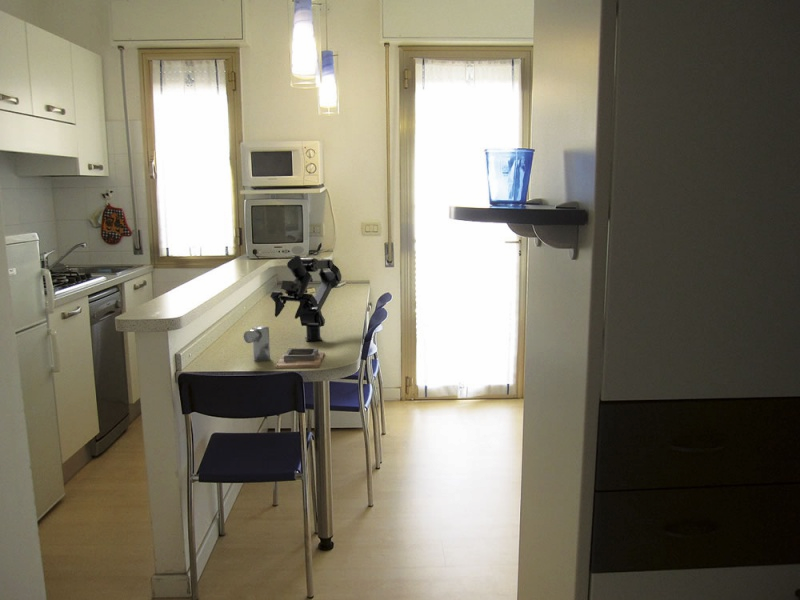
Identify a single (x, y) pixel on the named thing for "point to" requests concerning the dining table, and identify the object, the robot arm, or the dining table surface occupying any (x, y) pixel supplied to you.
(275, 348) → the dining table surface
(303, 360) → the base
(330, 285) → the robot arm
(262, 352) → the duct elbow
